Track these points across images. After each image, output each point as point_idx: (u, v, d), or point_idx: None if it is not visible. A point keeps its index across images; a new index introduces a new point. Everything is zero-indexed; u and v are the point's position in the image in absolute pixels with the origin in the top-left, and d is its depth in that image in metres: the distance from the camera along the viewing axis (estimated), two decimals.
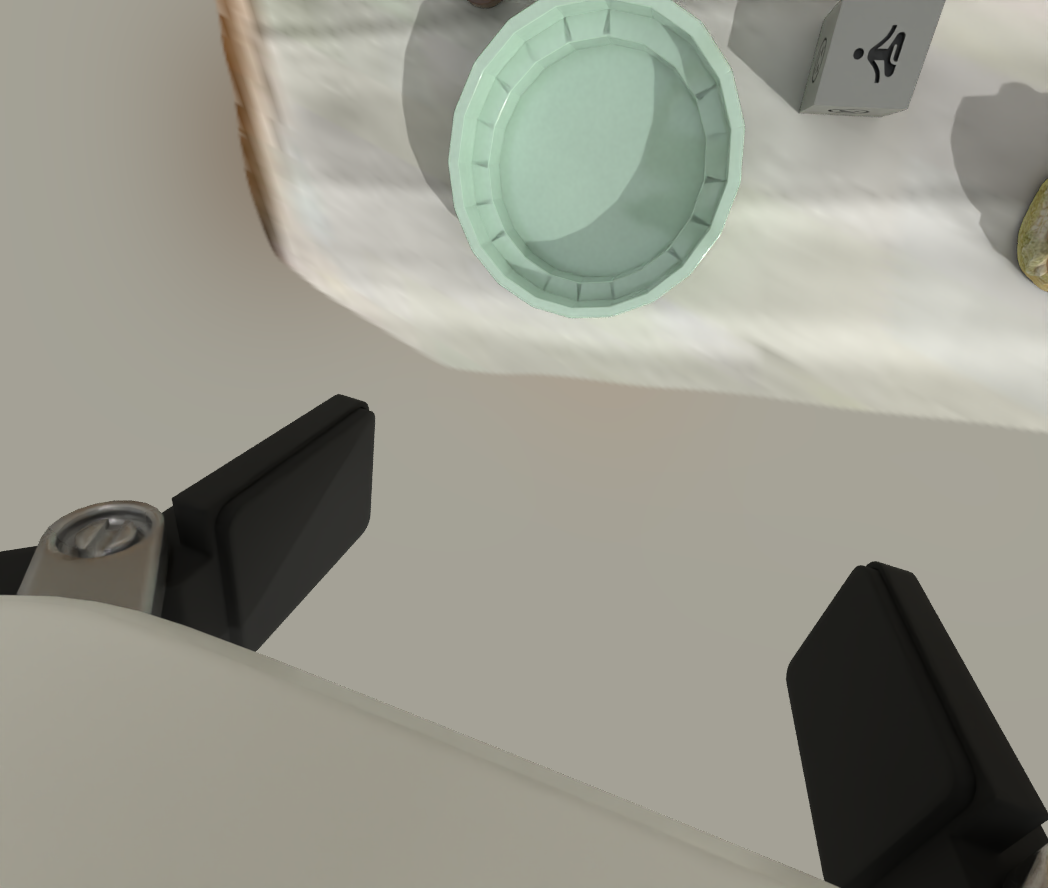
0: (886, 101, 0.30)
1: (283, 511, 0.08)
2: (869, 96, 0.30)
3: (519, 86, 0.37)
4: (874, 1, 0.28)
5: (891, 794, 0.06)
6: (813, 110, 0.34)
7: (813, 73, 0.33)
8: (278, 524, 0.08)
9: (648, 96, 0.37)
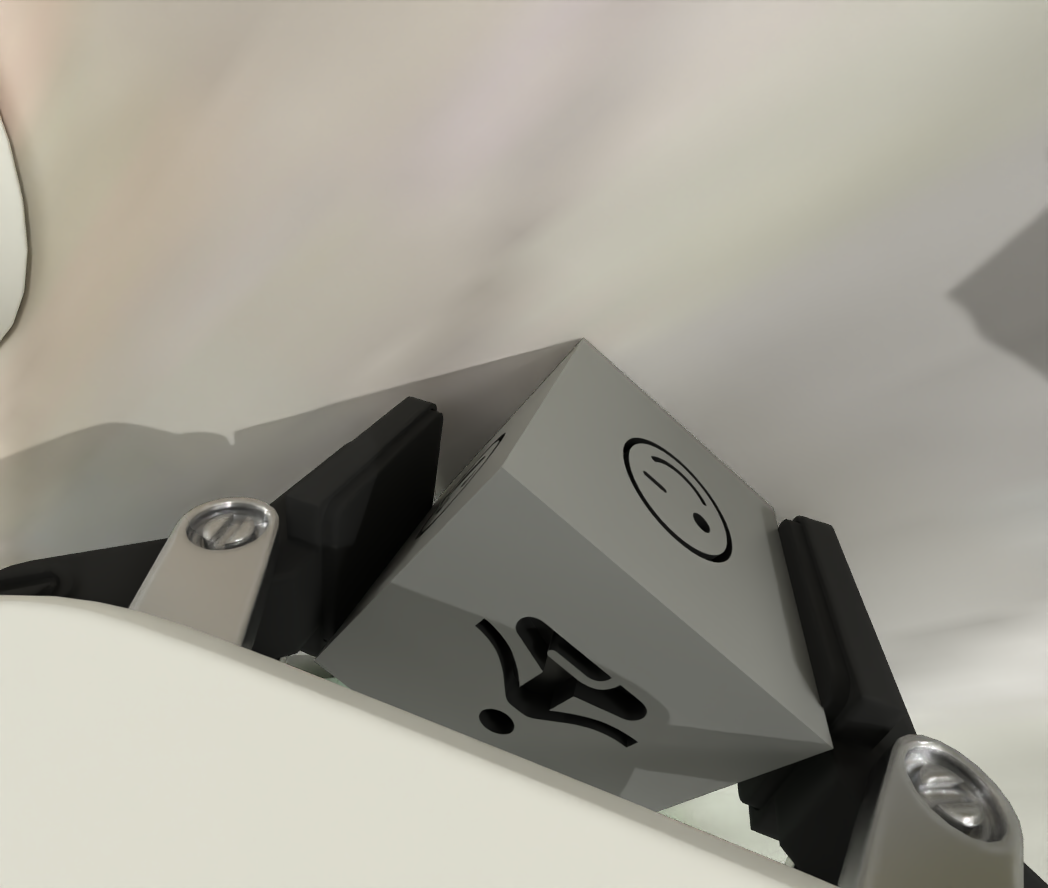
0: (730, 765, 0.07)
1: (373, 508, 0.08)
2: (660, 777, 0.07)
3: None
4: (369, 622, 0.07)
5: None
6: None
7: None
8: (369, 520, 0.08)
9: None
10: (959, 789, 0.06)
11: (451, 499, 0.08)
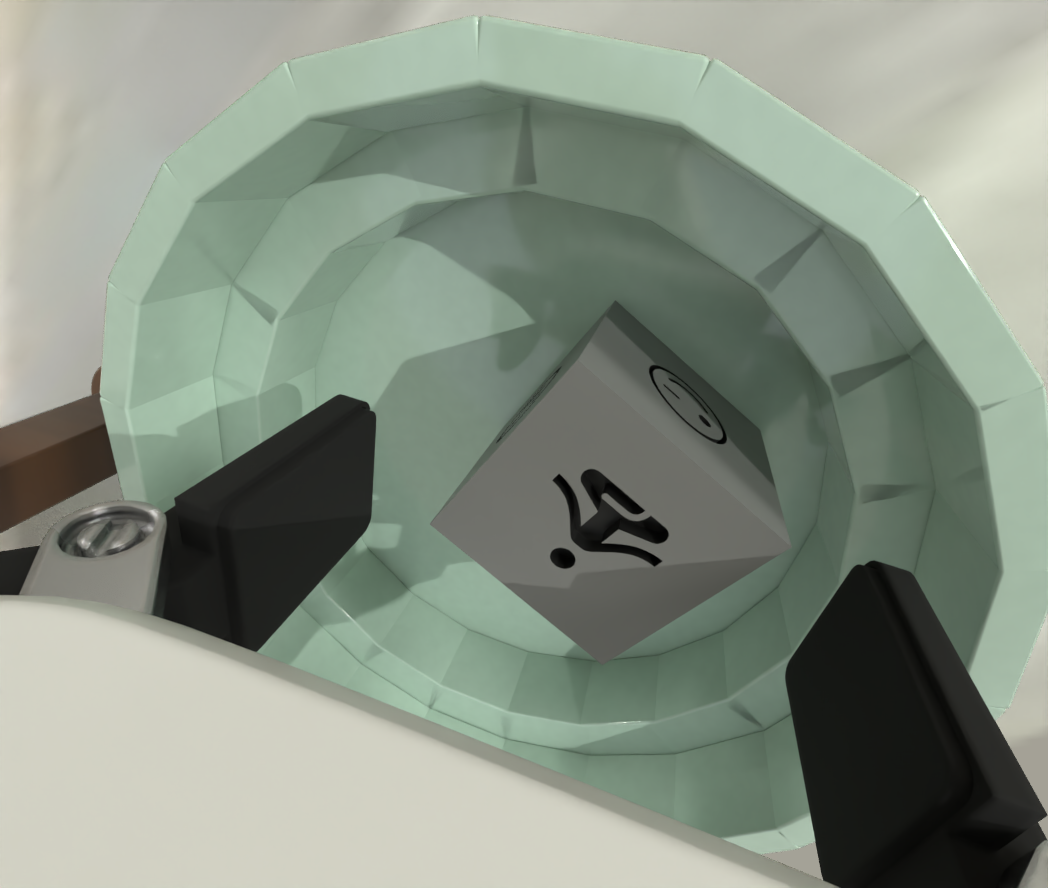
0: (724, 569, 0.10)
1: (285, 511, 0.08)
2: (678, 588, 0.10)
3: None
4: (475, 486, 0.11)
5: (888, 792, 0.06)
6: None
7: None
8: (280, 524, 0.08)
9: (470, 287, 0.14)
10: None
11: (525, 410, 0.11)
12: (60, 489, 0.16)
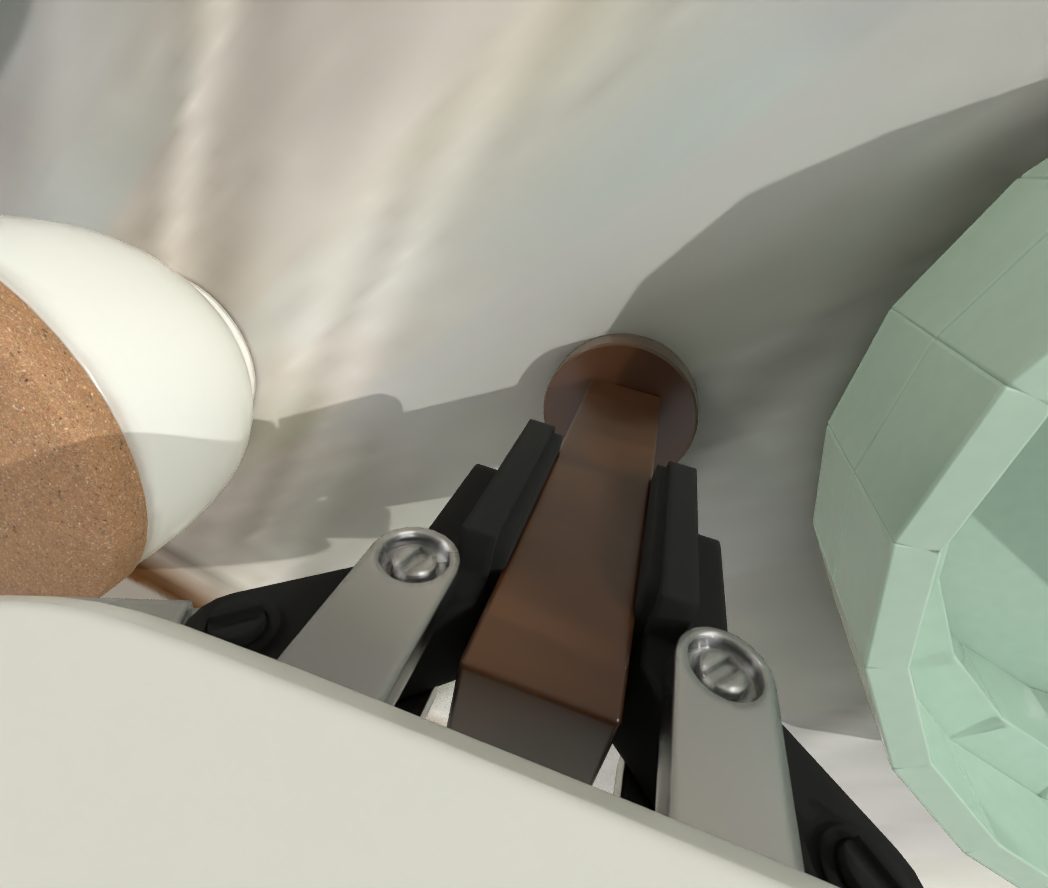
0: None
1: None
2: None
3: None
4: None
5: None
6: None
7: None
8: None
9: None
10: (728, 662, 0.07)
11: None
12: None
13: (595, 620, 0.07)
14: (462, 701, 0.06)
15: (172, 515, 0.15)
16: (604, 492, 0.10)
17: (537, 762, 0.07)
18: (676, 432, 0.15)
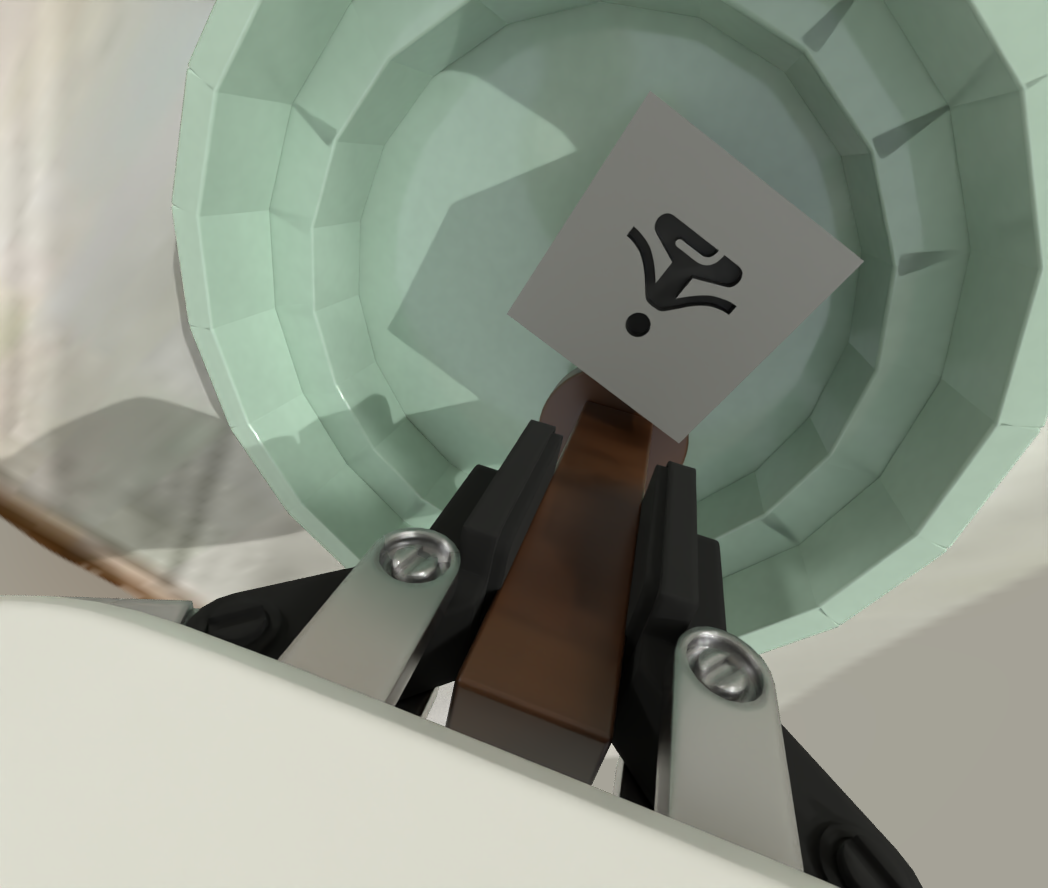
0: (798, 303, 0.10)
1: (523, 534, 0.09)
2: (752, 335, 0.11)
3: (344, 361, 0.18)
4: (552, 259, 0.11)
5: None
6: None
7: None
8: (519, 546, 0.09)
9: (515, 118, 0.15)
10: (727, 662, 0.07)
11: None
12: None
13: (587, 640, 0.07)
14: (457, 719, 0.07)
15: None
16: (596, 513, 0.10)
17: None
18: (668, 454, 0.15)
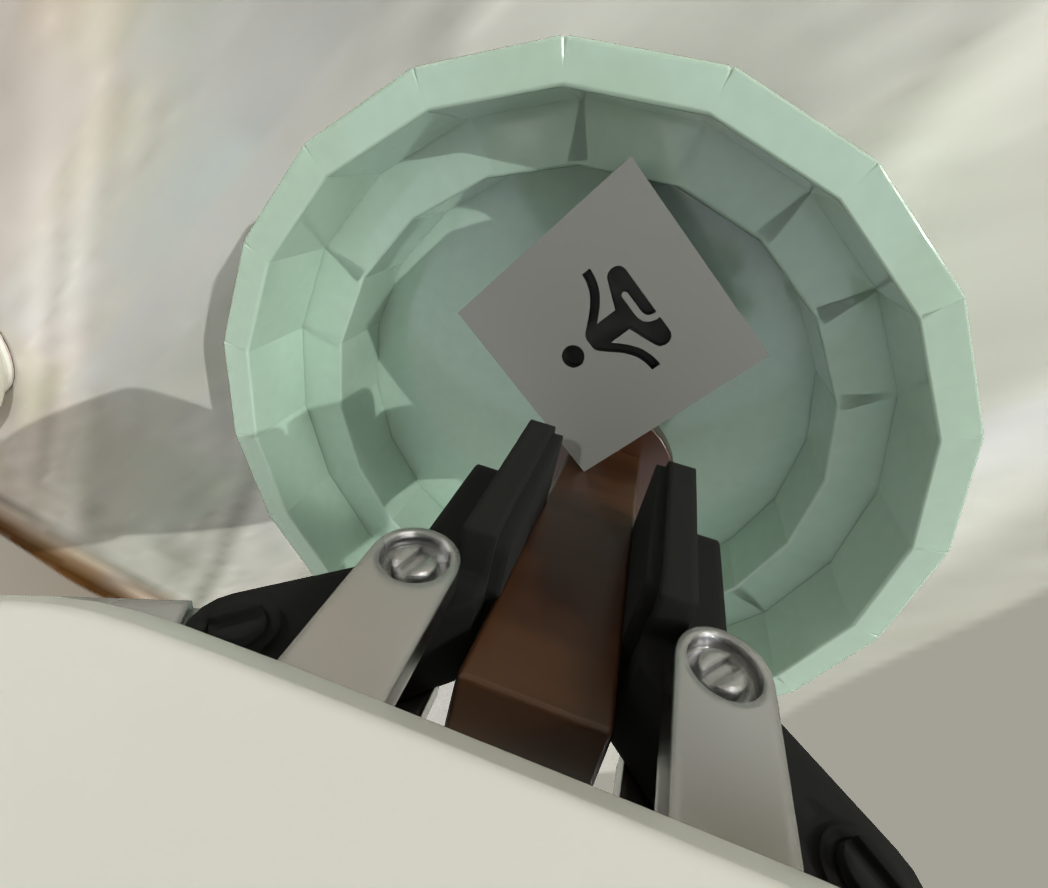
0: (710, 375, 0.12)
1: (522, 534, 0.09)
2: (667, 392, 0.12)
3: (366, 446, 0.20)
4: (511, 275, 0.12)
5: (624, 619, 0.08)
6: None
7: None
8: (519, 546, 0.09)
9: (518, 248, 0.17)
10: (728, 662, 0.07)
11: None
12: None
13: (584, 644, 0.07)
14: (457, 719, 0.07)
15: None
16: (589, 534, 0.10)
17: None
18: None
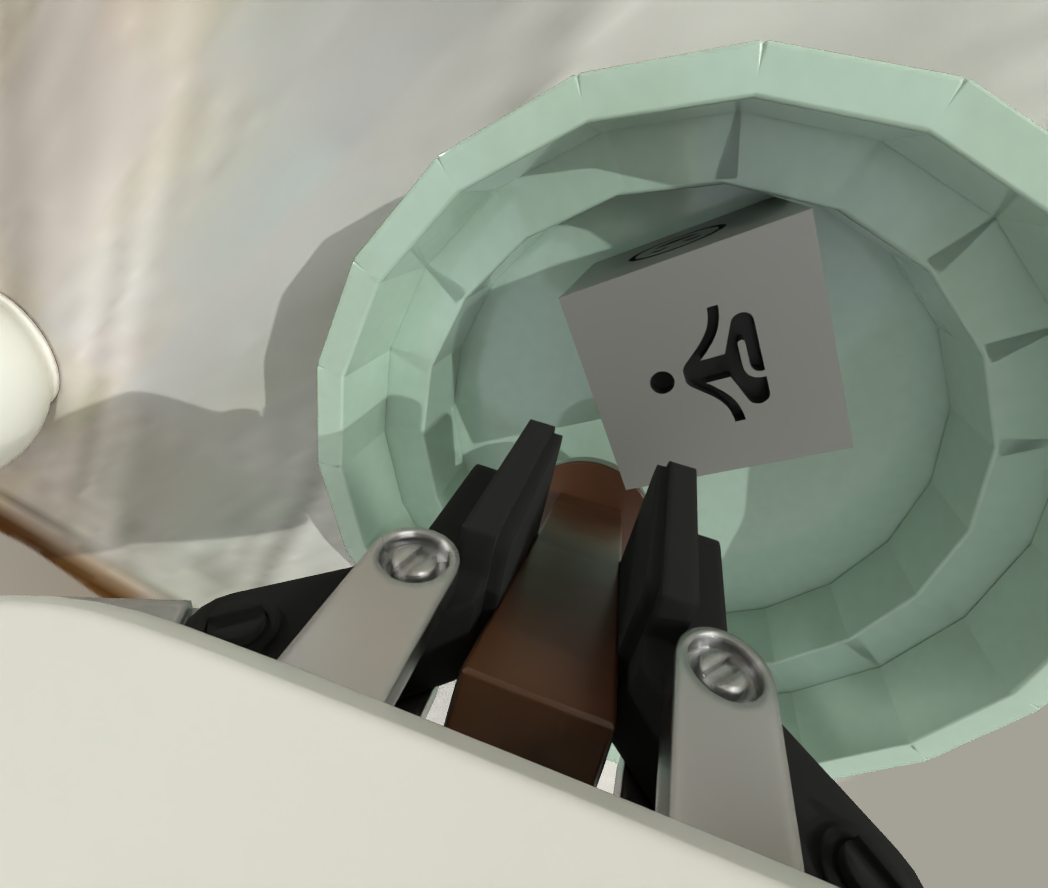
0: (788, 446, 0.12)
1: (522, 534, 0.09)
2: (740, 447, 0.12)
3: (442, 474, 0.19)
4: (632, 281, 0.11)
5: (625, 619, 0.08)
6: None
7: None
8: (518, 546, 0.09)
9: None
10: (728, 662, 0.07)
11: (684, 243, 0.12)
12: None
13: (582, 653, 0.07)
14: (456, 720, 0.06)
15: None
16: (580, 567, 0.11)
17: None
18: None
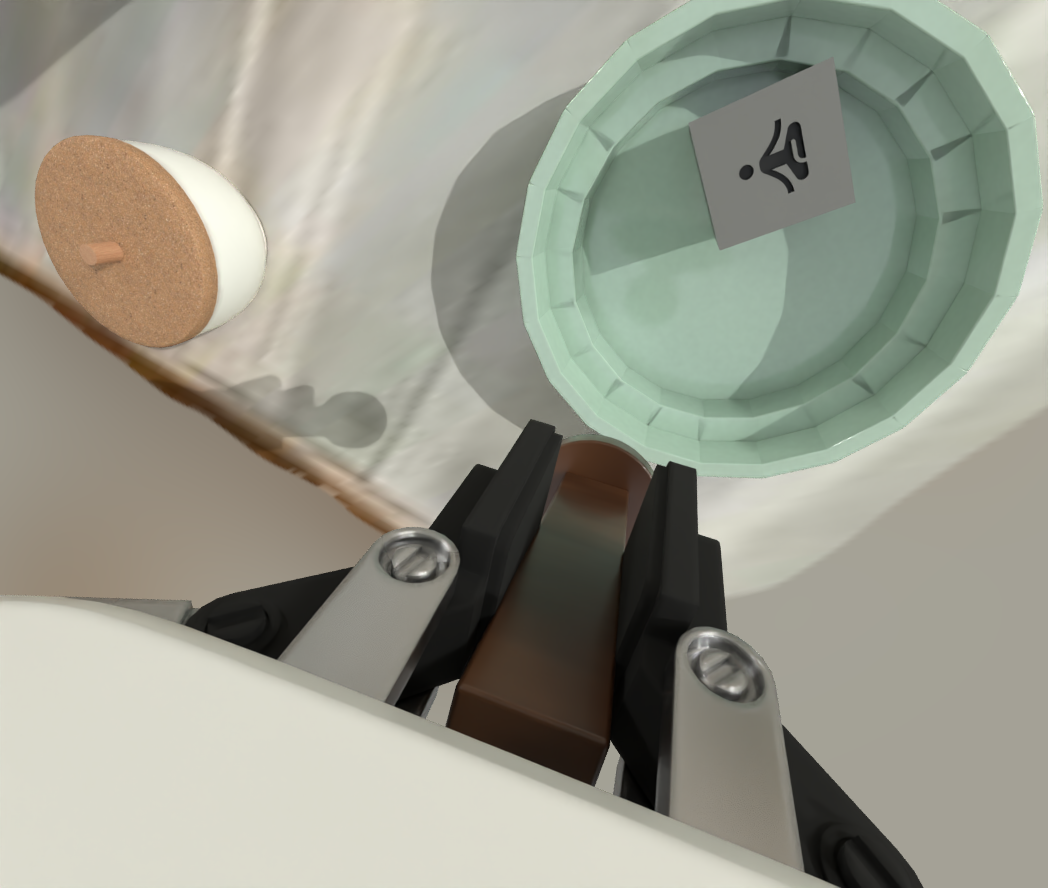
0: (819, 206, 0.20)
1: (522, 533, 0.09)
2: (790, 210, 0.21)
3: (577, 288, 0.27)
4: (732, 108, 0.20)
5: (625, 619, 0.08)
6: None
7: (705, 199, 0.24)
8: (518, 546, 0.09)
9: None
10: (728, 662, 0.07)
11: None
12: None
13: (580, 660, 0.08)
14: None
15: (227, 295, 0.30)
16: (581, 560, 0.11)
17: None
18: None
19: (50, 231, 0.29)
